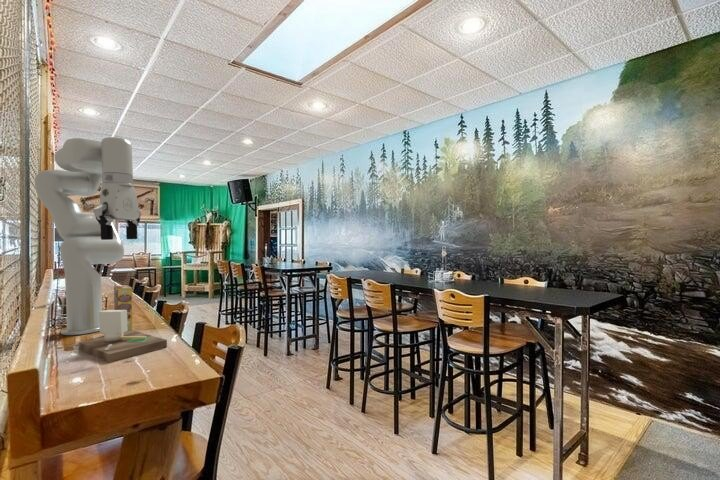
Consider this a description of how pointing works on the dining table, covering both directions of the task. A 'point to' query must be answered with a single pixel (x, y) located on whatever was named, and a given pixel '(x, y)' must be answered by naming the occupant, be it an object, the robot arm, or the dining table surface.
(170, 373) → the dining table surface
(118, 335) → the white block on stick
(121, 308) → the candy box
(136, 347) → the dial board
